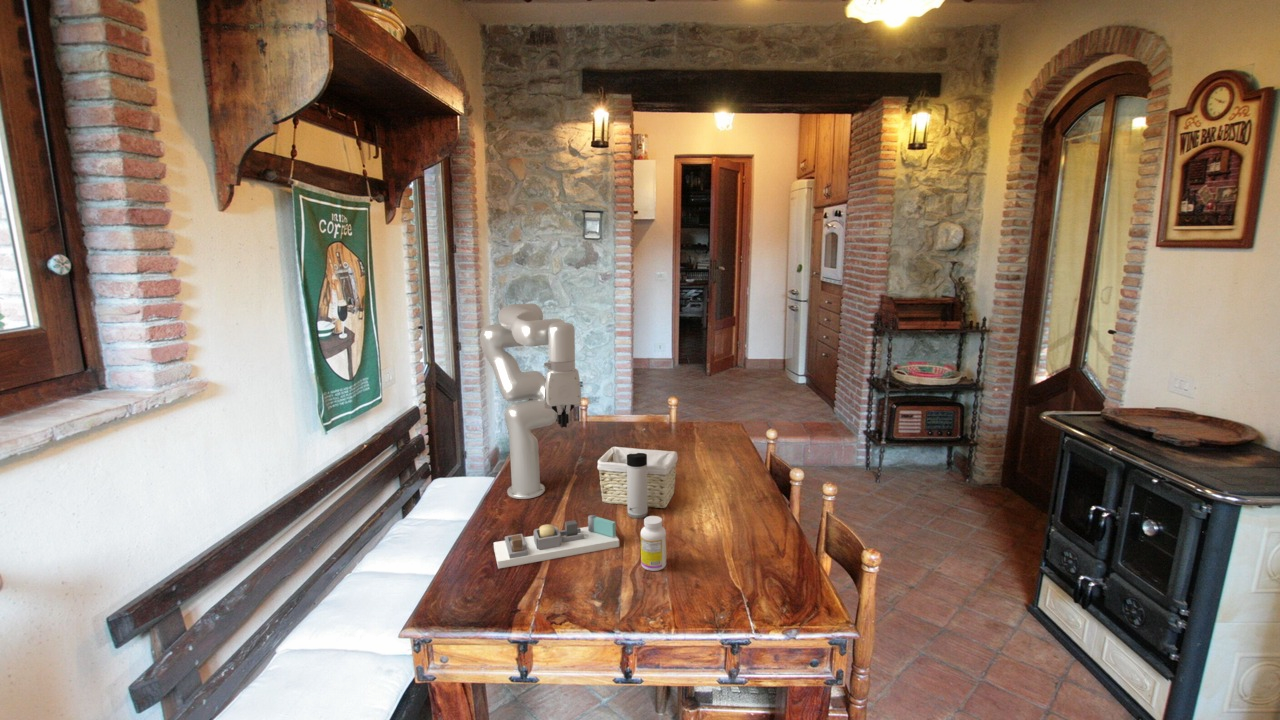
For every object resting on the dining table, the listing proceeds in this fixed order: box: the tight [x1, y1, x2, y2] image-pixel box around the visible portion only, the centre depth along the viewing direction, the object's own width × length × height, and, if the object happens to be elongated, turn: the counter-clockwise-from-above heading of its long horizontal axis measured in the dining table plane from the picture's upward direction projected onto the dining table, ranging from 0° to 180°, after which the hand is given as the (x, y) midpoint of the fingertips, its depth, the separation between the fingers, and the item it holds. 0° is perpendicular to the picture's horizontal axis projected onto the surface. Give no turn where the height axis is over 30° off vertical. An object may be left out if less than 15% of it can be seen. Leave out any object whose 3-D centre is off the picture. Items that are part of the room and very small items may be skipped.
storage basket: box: [596, 446, 679, 509], centre depth 197 cm, size 24×16×15 cm
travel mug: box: [626, 453, 649, 519], centre depth 183 cm, size 6×7×20 cm
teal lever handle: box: [587, 514, 617, 537], centre depth 169 cm, size 9×2×4 cm, turn 59°
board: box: [493, 524, 620, 570], centre depth 164 cm, size 11×33×6 cm, turn 109°
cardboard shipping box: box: [512, 533, 523, 552], centre depth 158 cm, size 3×2×4 cm
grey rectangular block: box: [564, 519, 578, 537], centre depth 167 cm, size 2×3×4 cm
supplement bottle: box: [640, 515, 667, 572], centre depth 154 cm, size 7×7×13 cm
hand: (563, 426), depth 176 cm, fingers closed
